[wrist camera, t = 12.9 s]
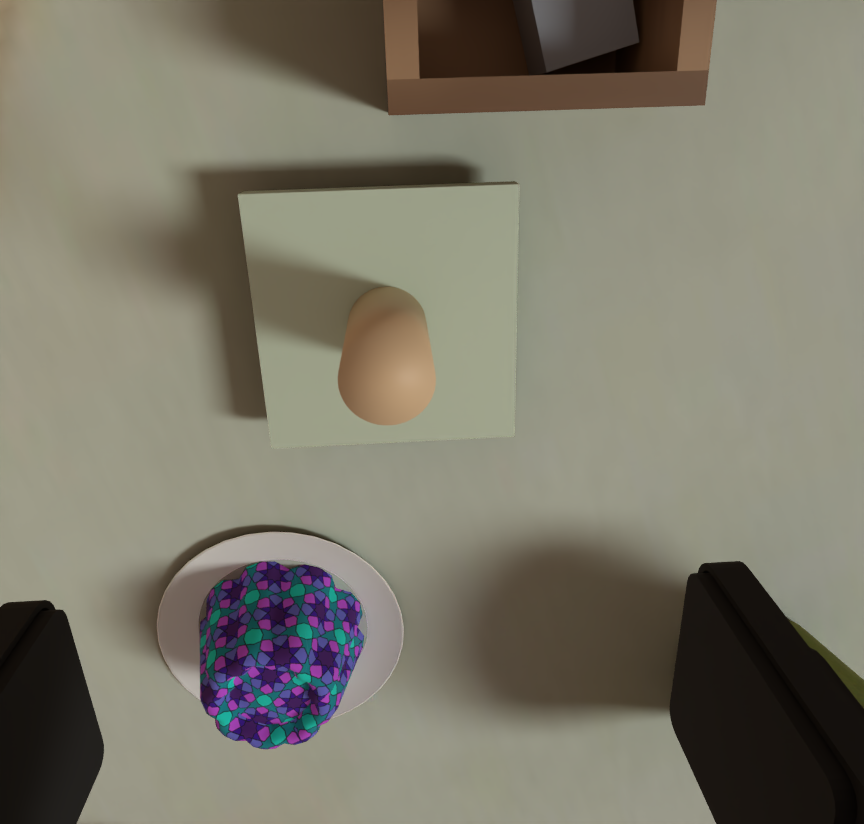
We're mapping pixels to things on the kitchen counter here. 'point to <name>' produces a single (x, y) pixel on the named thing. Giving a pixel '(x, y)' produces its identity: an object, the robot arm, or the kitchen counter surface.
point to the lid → (385, 311)
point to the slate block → (572, 30)
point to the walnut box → (507, 69)
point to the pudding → (278, 635)
